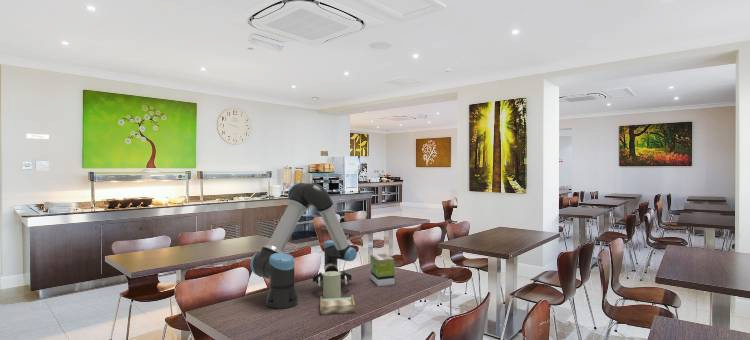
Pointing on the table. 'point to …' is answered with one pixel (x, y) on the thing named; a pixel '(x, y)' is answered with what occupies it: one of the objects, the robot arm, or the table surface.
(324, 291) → the can
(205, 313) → the table surface
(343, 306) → the tray
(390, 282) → the tea box
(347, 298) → the tailgate
